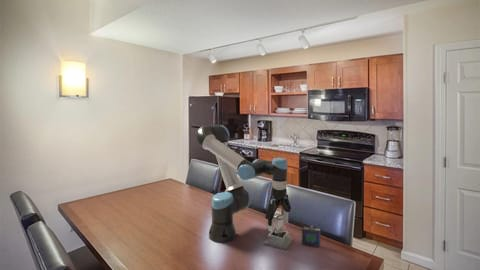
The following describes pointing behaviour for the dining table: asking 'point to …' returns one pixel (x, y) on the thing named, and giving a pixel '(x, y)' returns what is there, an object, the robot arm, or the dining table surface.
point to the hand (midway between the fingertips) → (278, 227)
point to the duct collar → (278, 240)
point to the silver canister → (278, 225)
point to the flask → (310, 237)
